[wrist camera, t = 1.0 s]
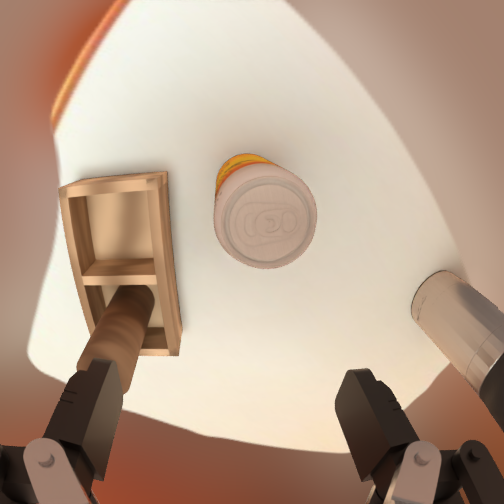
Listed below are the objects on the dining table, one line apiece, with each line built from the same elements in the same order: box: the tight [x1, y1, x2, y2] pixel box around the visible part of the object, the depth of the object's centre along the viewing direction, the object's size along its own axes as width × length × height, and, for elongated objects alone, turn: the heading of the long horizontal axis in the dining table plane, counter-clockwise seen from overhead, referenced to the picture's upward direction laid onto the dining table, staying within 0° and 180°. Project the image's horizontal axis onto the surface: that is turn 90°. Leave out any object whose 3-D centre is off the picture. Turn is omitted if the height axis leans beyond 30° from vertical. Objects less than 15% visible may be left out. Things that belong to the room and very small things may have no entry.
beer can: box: [214, 154, 317, 269], centre depth 23 cm, size 6×6×15 cm
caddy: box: [58, 171, 182, 394], centre depth 25 cm, size 10×19×16 cm, turn 0°
